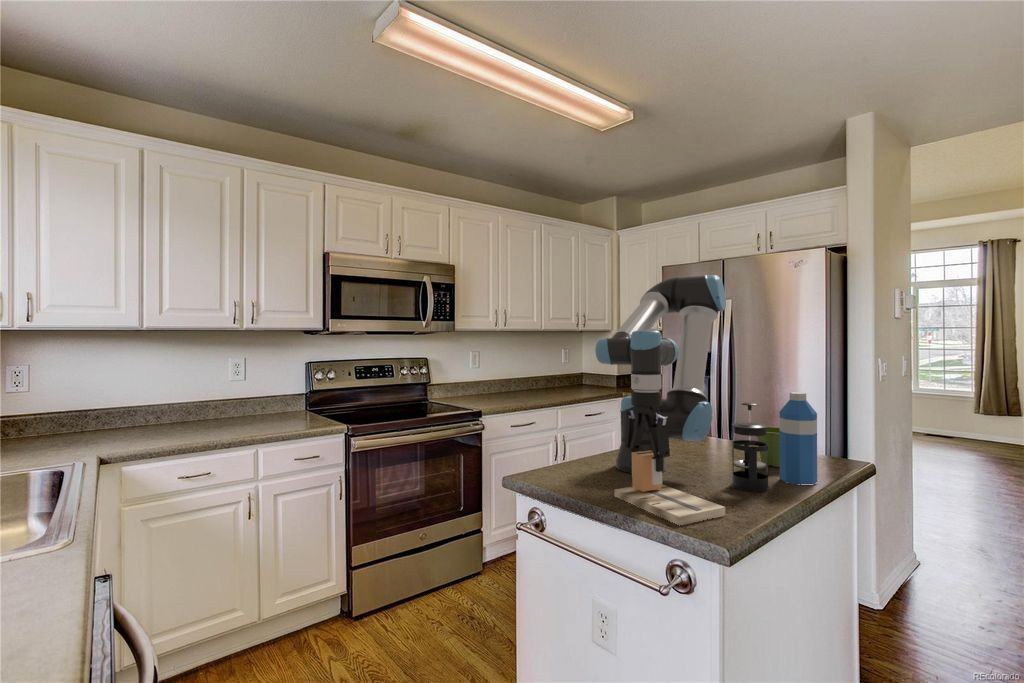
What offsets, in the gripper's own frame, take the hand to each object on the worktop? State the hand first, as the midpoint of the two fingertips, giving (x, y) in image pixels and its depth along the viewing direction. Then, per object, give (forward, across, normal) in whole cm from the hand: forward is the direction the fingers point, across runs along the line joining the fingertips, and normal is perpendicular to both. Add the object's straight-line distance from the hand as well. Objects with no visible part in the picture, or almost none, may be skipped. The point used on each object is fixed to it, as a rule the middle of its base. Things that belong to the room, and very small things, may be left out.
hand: (646, 480), depth 133 cm
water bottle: (+5, +8, +48) cm, 49 cm away
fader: (+2, 0, 0) cm, 2 cm away
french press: (+5, +6, +31) cm, 32 cm away
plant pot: (+5, -8, +59) cm, 60 cm away
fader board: (+5, +7, 0) cm, 9 cm away
